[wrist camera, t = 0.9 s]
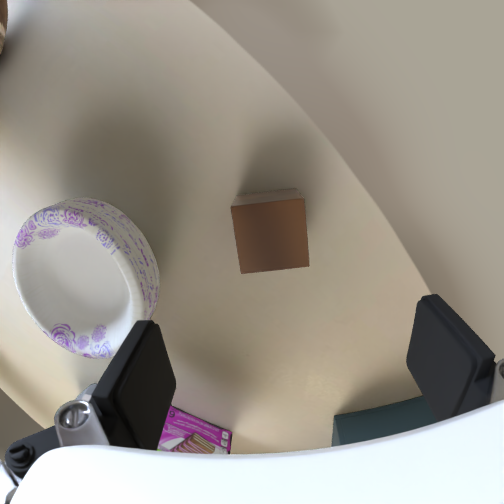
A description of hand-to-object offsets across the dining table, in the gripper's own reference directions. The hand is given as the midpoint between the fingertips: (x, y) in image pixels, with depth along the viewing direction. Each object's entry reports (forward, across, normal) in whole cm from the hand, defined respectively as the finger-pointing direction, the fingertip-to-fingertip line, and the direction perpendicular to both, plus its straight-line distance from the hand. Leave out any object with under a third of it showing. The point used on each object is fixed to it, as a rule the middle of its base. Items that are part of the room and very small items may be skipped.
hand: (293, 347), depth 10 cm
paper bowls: (+20, +18, +3) cm, 27 cm away
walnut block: (+20, 0, 0) cm, 20 cm away
